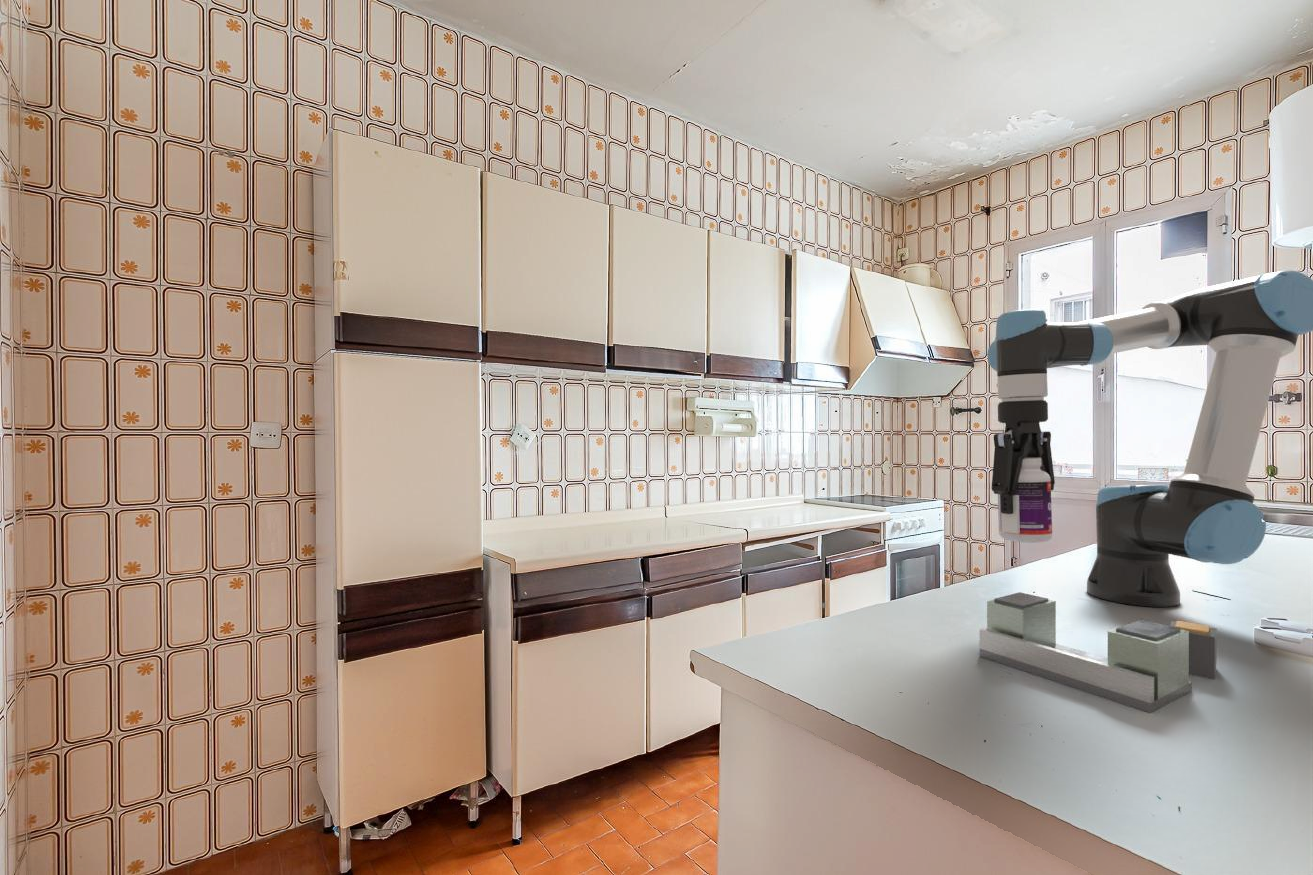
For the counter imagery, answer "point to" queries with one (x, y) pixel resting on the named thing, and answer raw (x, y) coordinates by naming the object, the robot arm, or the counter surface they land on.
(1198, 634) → the block
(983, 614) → the counter surface
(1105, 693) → the rail plate
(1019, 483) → the pill bottle
